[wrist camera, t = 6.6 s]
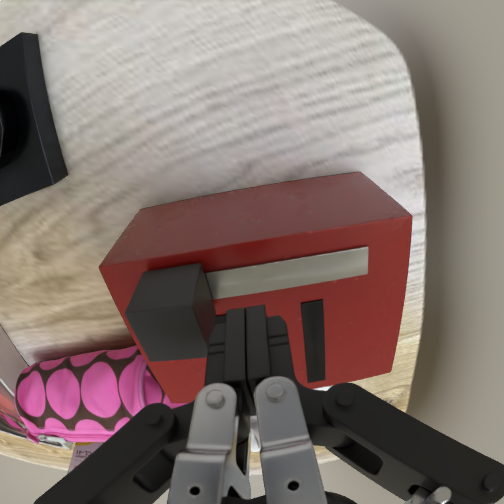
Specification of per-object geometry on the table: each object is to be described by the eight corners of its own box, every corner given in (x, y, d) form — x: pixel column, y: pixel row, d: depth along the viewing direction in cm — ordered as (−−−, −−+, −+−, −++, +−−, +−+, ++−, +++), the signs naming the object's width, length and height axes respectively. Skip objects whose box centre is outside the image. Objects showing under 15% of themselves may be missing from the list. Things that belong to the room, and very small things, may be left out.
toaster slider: (142, 271, 15) (123, 313, 12) (201, 262, 15) (192, 305, 12) (162, 318, 16) (149, 362, 13) (216, 311, 16) (211, 357, 13)
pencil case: (76, 401, 35) (55, 460, 26) (28, 353, 30) (-4, 414, 21) (212, 377, 31) (206, 462, 22) (161, 311, 27) (135, 406, 18)
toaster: (140, 209, 22) (96, 269, 15) (360, 171, 21) (414, 216, 14) (184, 331, 28) (171, 405, 21) (361, 304, 27) (392, 374, 20)
